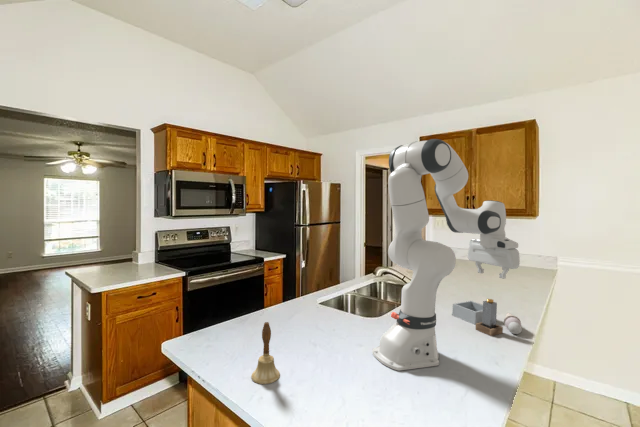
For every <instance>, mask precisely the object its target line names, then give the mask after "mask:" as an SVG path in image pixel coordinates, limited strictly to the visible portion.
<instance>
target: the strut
mask: <svg viewBox="0 0 640 427" xmlns="http://www.w3.org/2000/svg"><path fill="white" fill-rule="evenodd" d="M482 305H483V318H482V326H485V327H487V328H490V329H493V328H496V325H497V310H498V309H497V308H498V306H497V305H498V303H497V302H495V301H494V299H492V298H486V300H484V301H482Z"/></svg>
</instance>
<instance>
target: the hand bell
mask: <svg viewBox="0 0 640 427" xmlns="http://www.w3.org/2000/svg"><path fill="white" fill-rule="evenodd" d="M271 337H272V330H271V326H270V322H269V321H266V322H264V323H263V327H262V330H261V338H262V343H263V350H262V351H263V355H261V356H259V357H258V360H257V361H258V362H257V366H256V368H255V370H254V371H253V372H252V373H251V376H250V377H251V380H252V382H254V383H256V384H259V385H269V384H270V385H271V384H273V383H275V382H277V381H278V380H279V379H280V377H281V373H280V371H279V370H278V369H277V368H276V365H275V359H274V356H273V355H271V354H270V341H271Z"/></svg>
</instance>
